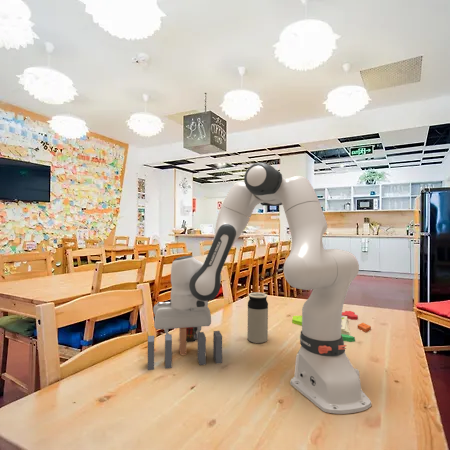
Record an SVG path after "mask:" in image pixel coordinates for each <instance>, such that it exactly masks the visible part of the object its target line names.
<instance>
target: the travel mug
mask: <svg viewBox="0 0 450 450" xmlns="http://www.w3.org/2000/svg"><path fill="white" fill-rule="evenodd" d="M248 298H249V300H248V302H247V337H246V338H247V340H248V341H249V342H251V343H254V344H263V343H265V342H267V341H268V337H269V336H268V333H269V331H268V330H269V329H268V328H269V325H268V324H269V303H268V300H267V298H268V294H266V293H264V292H251V293H248Z"/></svg>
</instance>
